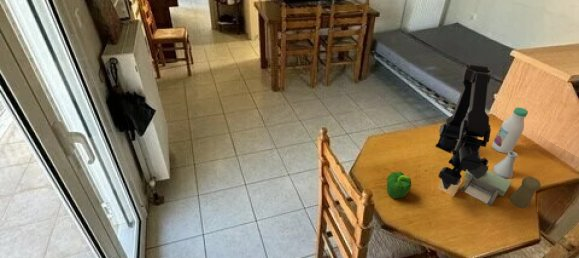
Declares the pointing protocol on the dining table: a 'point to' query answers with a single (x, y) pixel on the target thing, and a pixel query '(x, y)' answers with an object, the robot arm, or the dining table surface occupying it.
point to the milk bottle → (510, 131)
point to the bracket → (480, 190)
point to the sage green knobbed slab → (494, 181)
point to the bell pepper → (398, 184)
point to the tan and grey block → (450, 188)
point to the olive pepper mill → (525, 192)
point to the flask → (506, 166)
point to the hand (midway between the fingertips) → (450, 182)
